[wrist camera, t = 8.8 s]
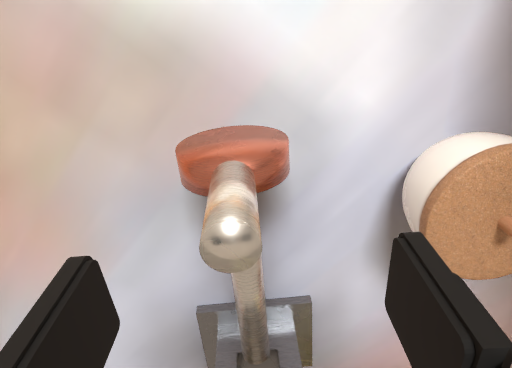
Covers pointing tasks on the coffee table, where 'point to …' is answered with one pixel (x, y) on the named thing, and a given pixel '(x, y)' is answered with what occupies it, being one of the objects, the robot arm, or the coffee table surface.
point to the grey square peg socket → (279, 331)
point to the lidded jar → (464, 202)
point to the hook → (236, 213)
